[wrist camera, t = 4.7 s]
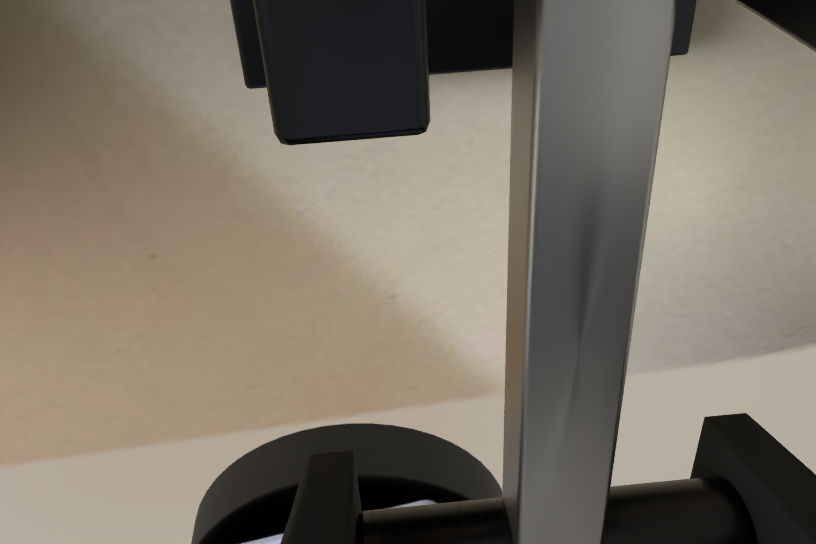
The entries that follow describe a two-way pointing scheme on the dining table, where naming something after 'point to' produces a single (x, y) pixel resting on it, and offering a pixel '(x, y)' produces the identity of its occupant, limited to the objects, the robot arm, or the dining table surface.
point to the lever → (576, 295)
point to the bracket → (399, 56)
